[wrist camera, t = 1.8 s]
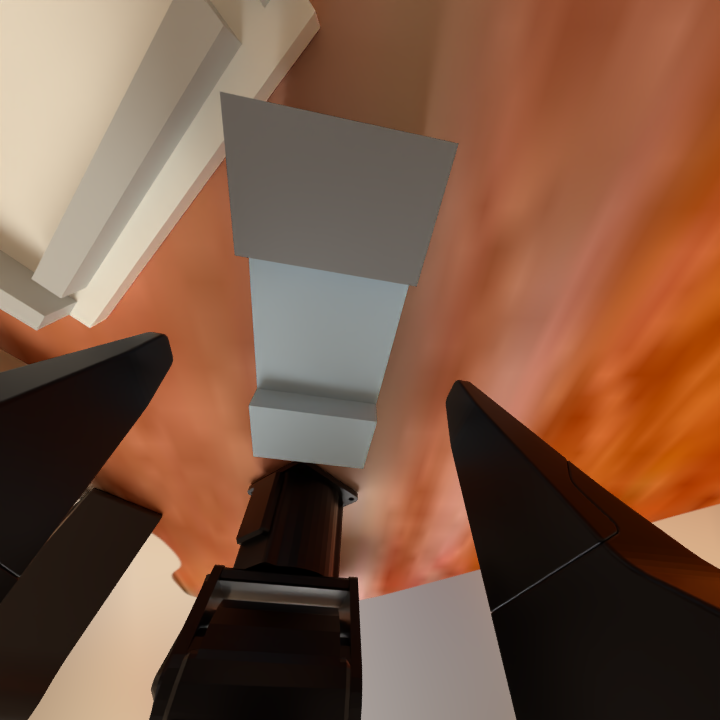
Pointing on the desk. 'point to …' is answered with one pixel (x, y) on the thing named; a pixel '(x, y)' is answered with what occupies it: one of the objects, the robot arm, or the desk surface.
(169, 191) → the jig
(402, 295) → the light blue block
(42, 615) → the phone stand
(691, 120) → the desk surface
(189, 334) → the desk surface
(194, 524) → the desk surface
